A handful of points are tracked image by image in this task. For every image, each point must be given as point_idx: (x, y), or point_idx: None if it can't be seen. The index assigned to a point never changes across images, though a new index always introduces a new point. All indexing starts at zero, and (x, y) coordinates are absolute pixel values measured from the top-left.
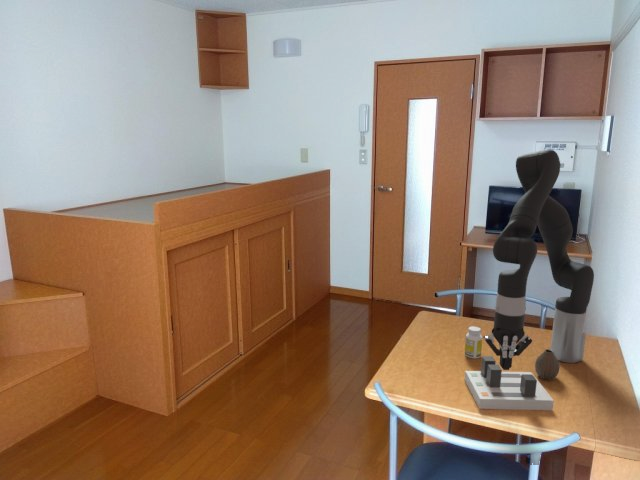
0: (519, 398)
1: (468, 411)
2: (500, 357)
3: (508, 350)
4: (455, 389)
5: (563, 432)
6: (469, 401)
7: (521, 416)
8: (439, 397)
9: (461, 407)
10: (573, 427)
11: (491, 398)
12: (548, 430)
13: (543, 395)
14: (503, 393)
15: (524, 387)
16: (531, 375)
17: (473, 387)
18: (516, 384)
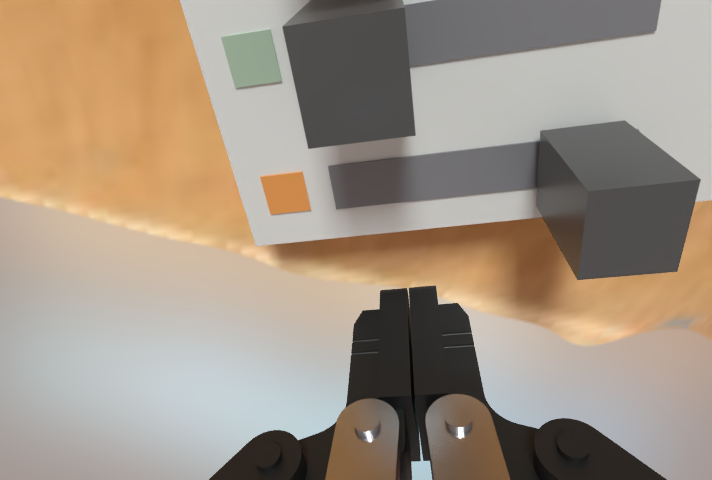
0: (501, 207)
1: (215, 243)
2: (350, 402)
3: (461, 470)
4: (111, 10)
5: (622, 330)
6: (215, 150)
7: (476, 246)
8: (41, 136)
9: (178, 215)
10: (698, 294)
11: (323, 233)
12: (560, 325)
13: (695, 146)
14: (410, 169)
15: (555, 231)
16: (679, 199)
17: (213, 101)
18: (560, 7)
